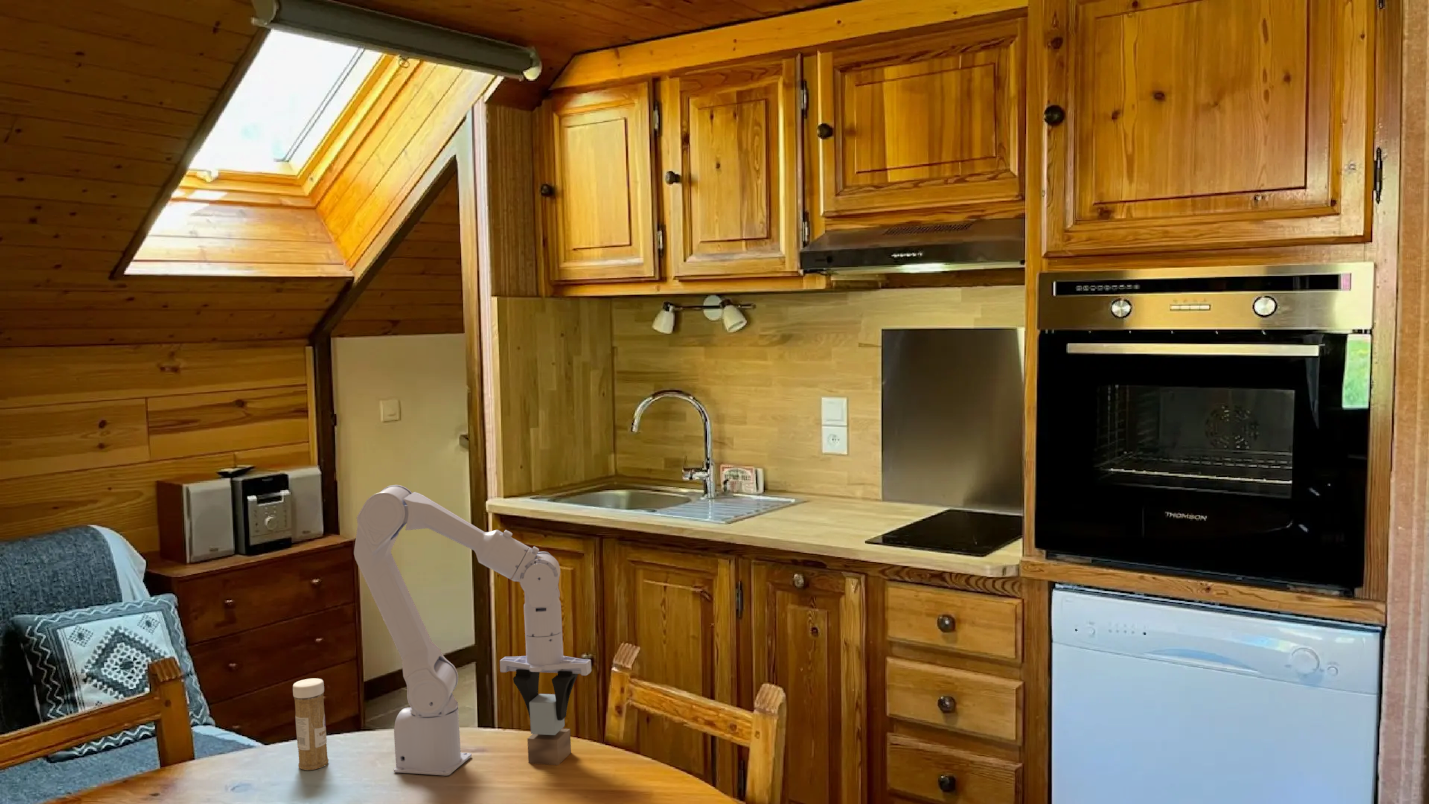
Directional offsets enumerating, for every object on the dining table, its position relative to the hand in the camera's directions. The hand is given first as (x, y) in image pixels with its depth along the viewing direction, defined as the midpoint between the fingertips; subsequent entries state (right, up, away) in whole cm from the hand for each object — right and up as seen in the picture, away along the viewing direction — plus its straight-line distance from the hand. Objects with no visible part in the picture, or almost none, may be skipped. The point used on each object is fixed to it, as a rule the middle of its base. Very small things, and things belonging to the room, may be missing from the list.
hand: (547, 717), depth 170 cm
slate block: (0, -2, 0) cm, 2 cm away
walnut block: (0, -7, 0) cm, 7 cm away
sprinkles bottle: (-37, -8, +1) cm, 38 cm away
